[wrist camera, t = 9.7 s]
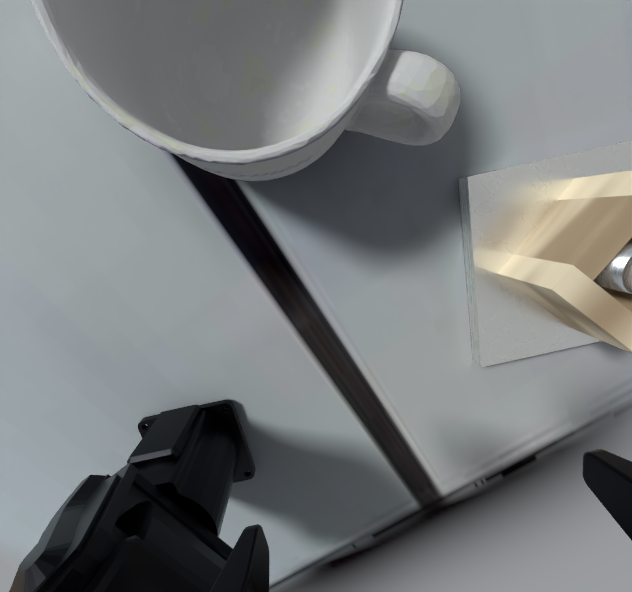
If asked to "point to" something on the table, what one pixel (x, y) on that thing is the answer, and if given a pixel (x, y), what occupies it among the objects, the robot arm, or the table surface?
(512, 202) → the stand
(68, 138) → the table surface
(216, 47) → the teacup
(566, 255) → the collar
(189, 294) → the table surface
